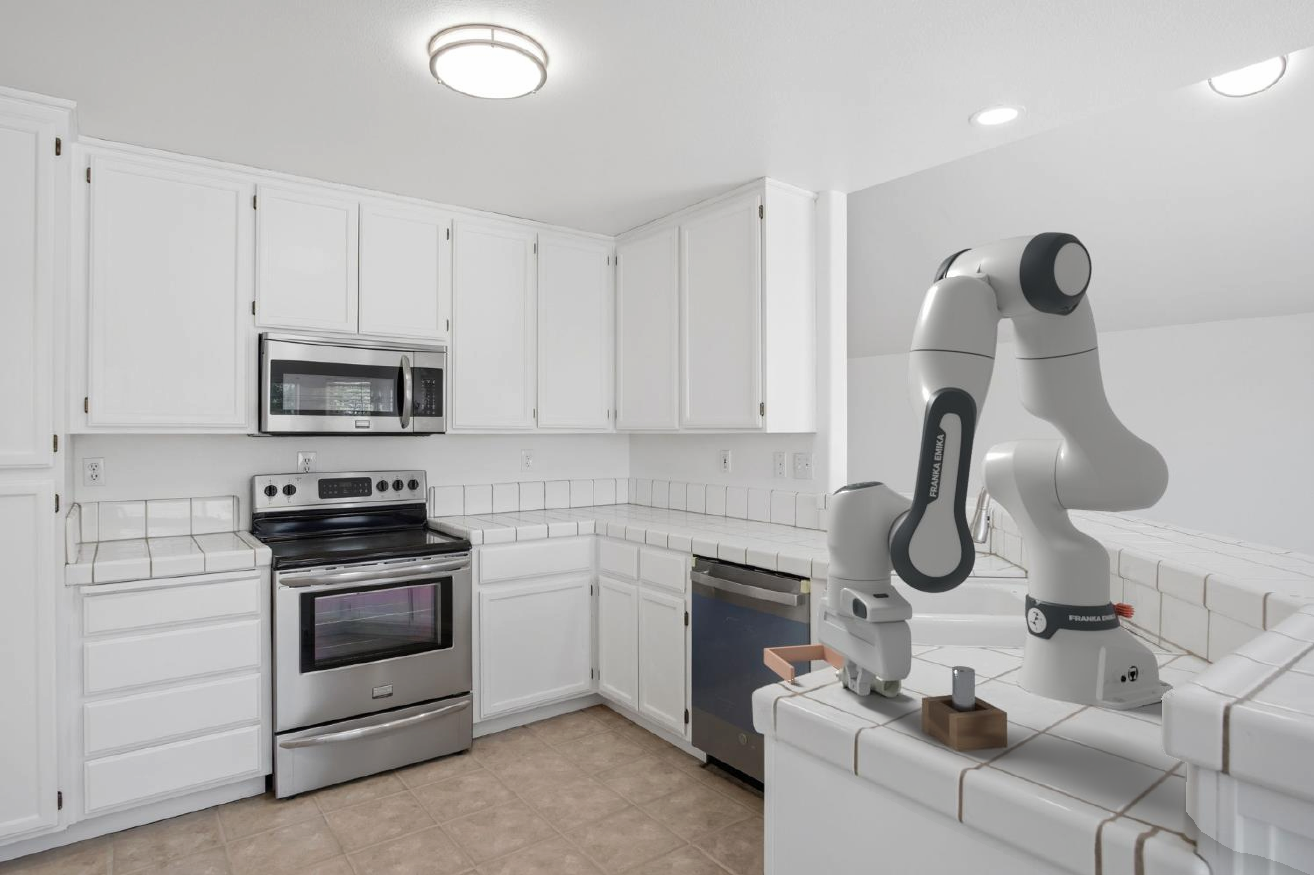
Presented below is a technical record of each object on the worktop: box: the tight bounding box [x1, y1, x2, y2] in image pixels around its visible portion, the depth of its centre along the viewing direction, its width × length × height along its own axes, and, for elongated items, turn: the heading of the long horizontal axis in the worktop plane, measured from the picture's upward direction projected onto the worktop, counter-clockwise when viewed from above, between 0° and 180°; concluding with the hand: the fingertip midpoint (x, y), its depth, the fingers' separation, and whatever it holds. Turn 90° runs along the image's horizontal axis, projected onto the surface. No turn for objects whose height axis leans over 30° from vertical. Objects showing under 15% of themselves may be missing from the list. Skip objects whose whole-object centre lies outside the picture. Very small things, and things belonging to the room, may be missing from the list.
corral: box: [763, 643, 844, 685], centre depth 118 cm, size 11×11×2 cm
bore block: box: [921, 694, 1008, 752], centre depth 90 cm, size 7×7×4 cm
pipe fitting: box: [835, 666, 902, 698], centre depth 109 cm, size 8×4×7 cm
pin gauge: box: [951, 665, 976, 713], centre depth 90 cm, size 3×3×9 cm
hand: (859, 692), depth 103 cm, fingers closed
